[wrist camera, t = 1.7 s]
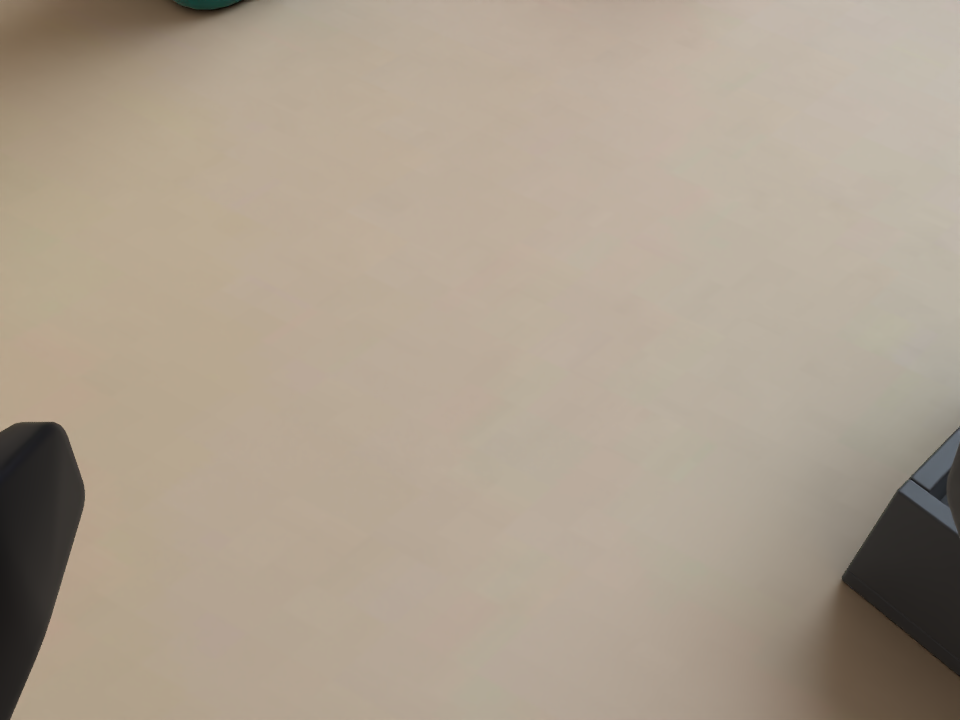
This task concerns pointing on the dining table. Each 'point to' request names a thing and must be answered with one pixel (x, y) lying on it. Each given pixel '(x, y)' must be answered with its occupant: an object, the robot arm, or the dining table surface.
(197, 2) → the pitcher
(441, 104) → the dining table surface
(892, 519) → the bin
